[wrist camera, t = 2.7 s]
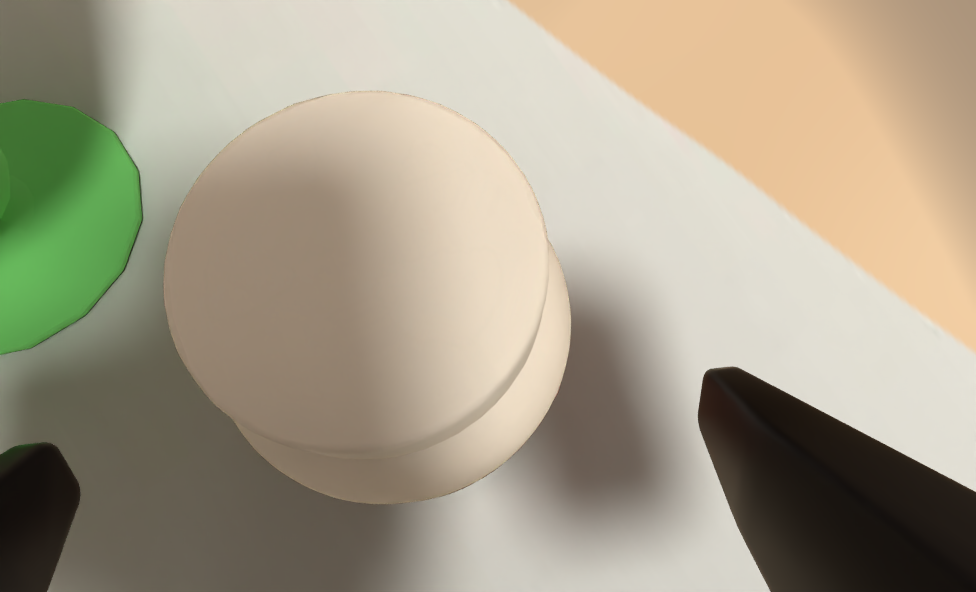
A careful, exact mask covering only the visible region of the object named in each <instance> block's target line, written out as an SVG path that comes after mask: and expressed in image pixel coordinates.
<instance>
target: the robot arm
mask: <svg viewBox="0 0 976 592" xmlns="http://www.w3.org/2000/svg"><path fill="white" fill-rule="evenodd" d="M698 423H699V428H700V431H701V434H702V436H703V439H704V441H705V444H706V447H707V449H708V452H709V454H710V457H711V460H712V462H713V465H714V467H715V470H716V473H717V475H718V478H719V480H720V483H721V486H722V488H723V491H724V493H725V496H726V499H727V501H728V504H729V506H730V509H731V512H732V514H733V516H734V519H735V521H736V524H737V526H738V528H739V530H740V532H741V534H742V536H743V539H744V541H745V543H746V545H747V547H748V549H749V550H750V552H751V554H752V556H753V558H754V560H755V562H756V564H757V566H758V568H759V570H760V572H761V574H762V576H763V578H764V580H765V582H766V583H767V585H768V587H769V589H770V591H771V592H976V492H975V491H973V490H971V489H969V488H967V487H965V486H963V485H961V484H959V483H958V482H956V481H954V480H952V479H950V478H948V477H946V476H944V475H942V474H940V473H938V472H937V471H935V470H933V469H931V468H929V467H927V466H925V465H923V464H921V463H919V462H917V461H916V460H914V459H912V458H910V457H908V456H906V455H904V454H902V453H900V452H898V451H896V450H895V449H893V448H891V447H889V446H887V445H885V444H883V443H881V442H879V441H877V440H875V439H874V438H872V437H870V436H868V435H866V434H864V433H862V432H860V431H858V430H856V429H854V428H853V427H851V426H849V425H847V424H845V423H843V422H841V421H839V420H837V419H835V418H833V417H832V416H830V415H828V414H826V413H824V412H822V411H820V410H818V409H816V408H814V407H812V406H811V405H809V404H807V403H805V402H803V401H801V400H799V399H797V398H795V397H793V396H791V395H790V394H788V393H786V392H784V391H782V390H780V389H778V388H776V387H774V386H772V385H770V384H769V383H767V382H765V381H763V380H761V379H759V378H757V377H755V376H753V375H751V374H749V373H748V372H746V371H744V370H742V369H740V368H737V367H723V368H714V369H709V370H708V371H706V373H705V374H704V377H703V382H702V389H701V396H700V403H699V410H698ZM80 496H81V493H80V486H79V483H78V481H77V479H76V477H75V476H74V474H73V472H72V471H71V469H70V467H69V466H68V464H67V462H66V460H65V459H64V457H63V455H62V454H61V452H60V450H59V449H58V448H57V447H56V446H55V445H53V444H52V443H47V442H42V443H33V444H24V445H18V446H15V447H13V448H11V449H9V450H7V451H6V452H4V453H2V454H1V455H0V592H47V591H48V588H49V585H50V582H51V580H52V577H53V574H54V571H55V569H56V566H57V563H58V560H59V558H60V555H61V552H62V549H63V547H64V544H65V541H66V538H67V536H68V533H69V530H70V527H71V525H72V522H73V519H74V516H75V513H76V511H77V508H78V505H79V502H80Z"/></svg>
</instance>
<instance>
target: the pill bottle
mask: <svg viewBox="0 0 976 592" xmlns="http://www.w3.org/2000/svg"><path fill="white" fill-rule="evenodd" d="M163 285H164V305H165V310H166V315H167V319H168V324H169V329H170V333H171V335H172V338H173V341H174V344H175V346H176V349H177V352H178V355H179V356H180V358H181V359H182V361H183V363H184V364H185V366H186V368H187V369H188V371H189V373H190V374H191V376H192V377H193V379H194V381H195V382H196V383H197V385H198V386H199V387H200V388H201V389H202V391H203V392H204V393H205V394H206V396H207V397H208V398H209V399H210V400H211V401H212V402H213V403H214V404H215V405H216V406H217V407H218V408H219V409H221V410H222V411H223V412H224V413H225V414H227V415H228V416H229V417H231V418H232V419H233V421H234V422H235V424H236V425H237V427H238V428H239V430H240V431H241V433H242V434H243V435H244V437H245V438H246V439H247V440H248V442H249V443H250V444H251V445H252V447H253V448H254V449H255V450H256V451H257V452H258V453H259V454H260V455H261V456H262V457H263V458H264V459H266V460H267V461H268V462H269V463H270V464H271V465H272V466H273V467H275V468H276V469H278V470H279V471H280V472H282V473H283V474H285V475H287V476H288V477H290V478H291V479H293V480H294V481H296V482H298V483H300V484H302V485H304V486H306V487H308V488H310V489H312V490H315V491H317V492H319V493H322V494H325V495H328V496H331V497H334V498H337V499H341V500H346V501H351V502H359V503H367V504H400V503H407V502H415V501H423V500H427V499H431V498H435V497H440V496H444V495H447V494H450V493H453V492H455V491H458V490H460V489H463V488H465V487H467V486H469V485H471V484H473V483H475V482H476V481H478V480H480V479H482V478H484V477H485V476H487V475H488V474H490V473H491V472H493V471H494V470H496V469H497V468H498V467H499V466H501V465H502V464H503V463H504V462H506V461H507V460H508V459H509V458H510V457H511V456H512V455H514V454H515V453H516V452H517V451H518V450H519V449H520V448H521V447H522V446H523V444H524V443H525V442H526V441H527V440H528V439H529V437H530V436H531V435H532V434H533V433H534V431H535V430H536V429H537V427H538V426H539V424H540V423H541V421H542V420H543V418H544V416H545V415H546V413H547V412H548V410H549V408H550V406H551V404H552V402H553V400H554V398H555V397H556V395H557V394H558V392H559V388H560V383H561V381H562V377H563V374H564V371H565V367H566V363H567V358H568V353H569V347H570V336H571V312H570V303H569V297H568V291H567V286H566V282H565V278H564V275H563V272H562V269H561V266H560V263H559V260H558V258H557V256H556V254H555V252H554V249H553V247H552V245H551V243H550V242H549V240H548V238H547V231H546V227H545V223H544V218H543V215H542V213H541V210H540V207H539V204H538V202H537V199H536V197H535V194H534V192H533V190H532V188H531V186H530V184H529V183H528V181H527V179H526V177H525V175H524V174H523V172H522V171H521V169H520V168H519V167H518V165H517V164H516V162H515V161H514V160H513V158H512V157H511V156H510V155H509V154H508V152H507V151H506V150H505V149H504V148H503V147H502V146H501V145H500V144H499V143H498V142H497V141H496V140H495V139H494V138H493V137H491V136H490V135H489V134H488V133H487V132H486V131H485V130H483V129H482V128H481V127H480V126H478V125H477V124H476V123H474V122H472V121H471V120H469V119H467V118H466V117H464V116H462V115H461V114H459V113H457V112H455V111H453V110H451V109H449V108H447V107H445V106H443V105H441V104H438V103H435V102H432V101H428V100H425V99H422V98H418V97H415V96H411V95H407V94H397V93H392V92H386V91H353V92H345V93H338V94H331V95H326V96H321V97H317V98H314V99H310V100H306V101H303V102H299V103H296V104H293V105H291V106H288V107H286V108H284V109H282V110H280V111H278V112H276V113H274V114H272V115H271V116H269V117H267V118H265V119H263V120H261V121H259V122H258V123H256V124H254V125H253V126H251V127H250V128H248V129H247V130H245V131H244V132H243V133H242V134H240V135H239V136H238V137H237V138H235V139H234V140H233V141H231V142H230V143H229V144H228V145H227V146H226V147H225V148H224V149H223V150H222V151H221V152H220V153H219V154H218V155H217V156H216V157H215V158H214V159H213V160H212V161H211V163H210V164H209V165H208V166H207V167H206V168H205V170H204V171H203V172H202V173H201V175H200V176H199V177H198V179H197V180H196V182H195V183H194V185H193V187H192V188H191V190H190V191H189V193H188V195H187V196H186V198H185V200H184V202H183V204H182V205H181V207H180V209H179V212H178V215H177V218H176V220H175V223H174V226H173V229H172V232H171V235H170V239H169V244H168V248H167V253H166V258H165V265H164V283H163Z"/></svg>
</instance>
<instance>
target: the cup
mask: <svg viewBox="0 0 976 592" xmlns="http://www.w3.org/2000/svg"><path fill="white" fill-rule="evenodd" d="M141 221H142V212H141V198H140V185H139V172H138V170H137V168H136V167H135V165H134V163H133V162H132V160H131V158H130V157H129V155H128V154H127V152H126V150H125V149H124V147H123V145H122V144H121V142H120V140H119V139H118V137H117V136H116V134H115V133H114V132H113V131H112V130H110V129H108V128H107V127H105V126H104V125H102V124H100V123H99V122H97V121H95V120H94V119H92V118H91V117H89V116H87V115H86V114H84V113H83V112H81V111H79V110H78V109H76V108H74V107H71V106H65V105H58V104H52V103H45V102H39V101H32V100H26V99H22V100H17V101H11V102H6V103H0V355H2V354H6V353H11V352H16V351H20V350H25V349H30V348H32V347H34V346H35V345H37V344H39V343H40V342H42V341H44V340H45V339H47V338H49V337H50V336H52V335H54V334H55V333H57V332H59V331H60V330H62V329H64V328H65V327H67V326H69V325H70V324H72V323H74V322H75V321H77V320H79V319H80V318H82V317H83V316H85V315H86V314H87V313H88V311H89V310H90V309H91V308H92V307H93V306H94V304H95V303H96V302H97V301H98V300H99V298H100V297H101V296H102V295H103V294H104V293H105V291H106V290H107V289H108V288H109V287H110V286H111V284H112V283H113V282H114V281H115V280H116V278H117V277H118V276H119V275H120V274H121V273H122V271H123V270H124V268H125V265H126V262H127V260H128V257H129V254H130V251H131V248H132V246H133V243H134V240H135V237H136V235H137V232H138V229H139V226H140V224H141Z"/></svg>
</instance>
